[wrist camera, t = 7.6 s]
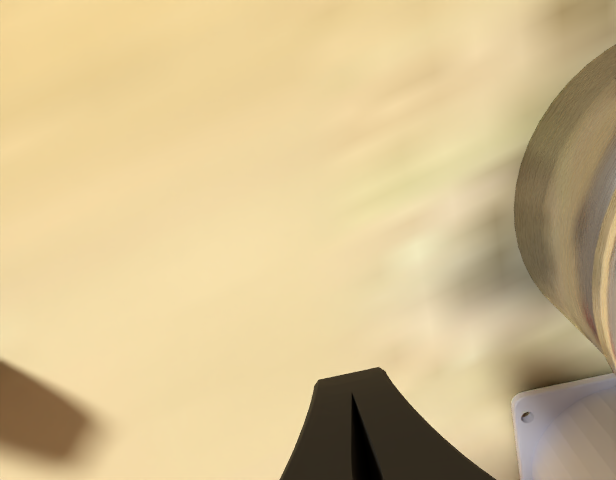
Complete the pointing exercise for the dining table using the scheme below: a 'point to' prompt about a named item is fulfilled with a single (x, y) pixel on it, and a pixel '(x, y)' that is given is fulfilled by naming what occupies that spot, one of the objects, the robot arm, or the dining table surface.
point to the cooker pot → (569, 190)
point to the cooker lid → (606, 285)
